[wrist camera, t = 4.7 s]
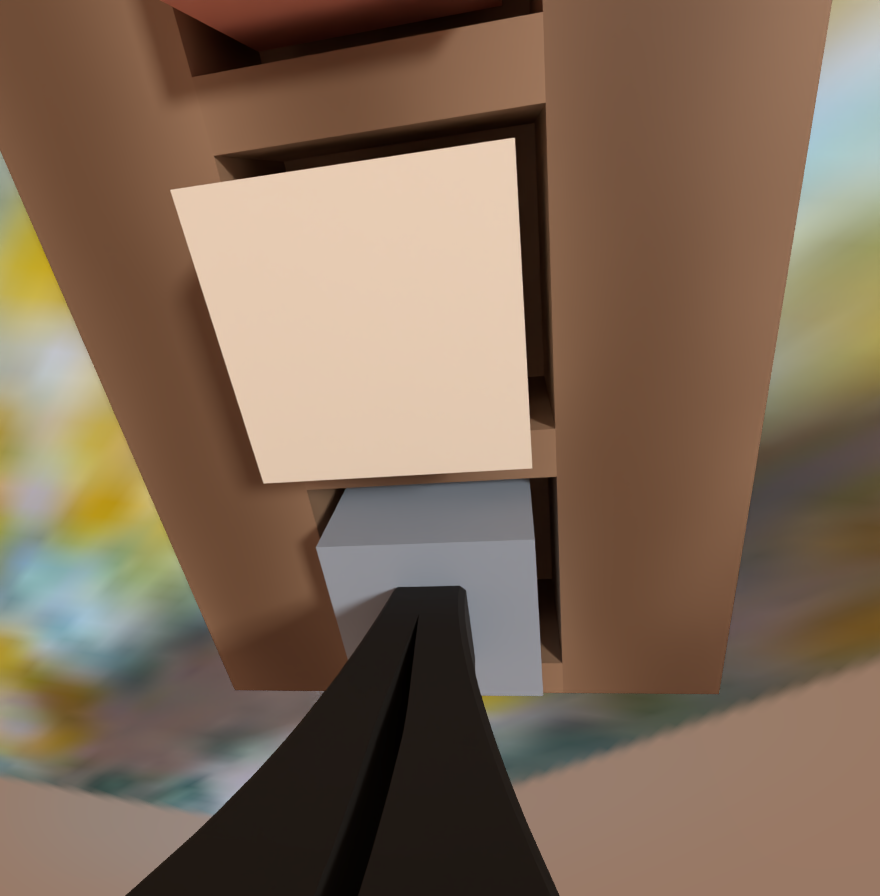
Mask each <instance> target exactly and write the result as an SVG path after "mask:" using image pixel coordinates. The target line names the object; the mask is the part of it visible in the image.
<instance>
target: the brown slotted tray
mask: <svg viewBox="0 0 880 896" xmlns="http://www.w3.org/2000/svg"><path fill="white" fill-rule="evenodd" d="M831 4H832V0H502V6H497V7H491V8H486V9H481V10H476V11H470V12H465V13H460V14H455V15H449V16H444V17H439V18H434V19H428V20H423V21H418V22H413V23H407V24H402V25H397V26H392V27H386V28H381V29H376V30H371V31H365V32H360V33H355V34H350V35H344V36H339V37H334V38H329V39H323V40H318V41H313V42H308V43H302V44H297V45H292V46H287V47H281V48H276V49H271V50H265V51H260V52H258V51H256V50H254V49H252V48H250V47H248V46H246V45H244V44H242V43H241V42H239V41H237V40H235V39H233V38H231V37H229V36H227V35H225V34H223V33H221V32H220V31H218V30H216V29H214V28H212V27H210V26H208V25H206V24H204V23H202V22H200V21H199V20H197V19H195V18H193V17H191V16H189V15H187V14H185V13H183V12H181V11H180V10H178V9H176V8H174V7H172V6H170V5H168V4H166V3H164V2H162V1H160V0H0V151H1V153H2V156H3V158H4V160H5V162H6V165H7V167H8V169H9V172H10V174H11V176H12V179H13V181H14V183H15V185H16V188H17V190H18V192H19V195H20V197H21V199H22V202H23V204H24V206H25V208H26V211H27V213H28V215H29V218H30V220H31V222H32V225H33V227H34V229H35V231H36V234H37V236H38V238H39V241H40V243H41V245H42V248H43V250H44V252H45V254H46V257H47V259H48V261H49V264H50V266H51V268H52V271H53V273H54V275H55V277H56V280H57V282H58V284H59V287H60V289H61V291H62V294H63V296H64V298H65V300H66V303H67V305H68V307H69V310H70V312H71V314H72V317H73V319H74V321H75V323H76V326H77V328H78V330H79V333H80V335H81V337H82V340H83V342H84V344H85V346H86V349H87V351H88V353H89V356H90V358H91V360H92V363H93V365H94V367H95V369H96V372H97V374H98V376H99V379H100V381H101V383H102V386H103V388H104V390H105V392H106V395H107V397H108V399H109V402H110V404H111V406H112V409H113V411H114V413H115V415H116V418H117V420H118V422H119V425H120V427H121V429H122V432H123V434H124V436H125V438H126V441H127V443H128V445H129V448H130V450H131V452H132V455H133V457H134V459H135V461H136V464H137V466H138V468H139V471H140V473H141V475H142V478H143V480H144V482H145V484H146V487H147V489H148V491H149V494H150V496H151V498H152V501H153V503H154V505H155V507H156V510H157V512H158V514H159V517H160V519H161V521H162V524H163V526H164V528H165V530H166V533H167V535H168V537H169V540H170V542H171V544H172V547H173V549H174V551H175V553H176V556H177V558H178V560H179V563H180V565H181V567H182V570H183V572H184V574H185V576H186V579H187V581H188V583H189V586H190V588H191V590H192V593H193V595H194V597H195V600H196V602H197V604H198V606H199V609H200V611H201V613H202V616H203V618H204V620H205V623H206V625H207V627H208V629H209V632H210V634H211V636H212V639H213V641H214V643H215V646H216V648H217V650H218V652H219V655H220V657H221V659H222V662H223V664H224V666H225V669H226V671H227V673H228V675H229V678H230V680H231V682H232V685H233V687H234V689H235V690H277V691H325V690H326V689H327V688H328V687H329V685H330V684H331V683H332V681H333V680H334V679H335V677H336V676H337V675H338V673H339V672H340V670H341V669H342V668H343V666H344V665H345V663H346V662H347V661H348V659H347V655H346V651H345V648H344V644H343V641H342V637H341V634H340V630H339V627H338V623H337V620H336V616H335V613H334V609H333V606H332V602H331V599H330V595H329V592H328V588H327V585H326V581H325V578H324V574H323V571H322V567H321V564H320V560H319V557H318V553H317V550H316V546H317V544H318V542H319V540H320V538H321V536H322V534H323V532H324V530H325V528H326V526H327V525H328V523H329V521H330V519H331V517H332V515H333V513H334V511H335V509H336V507H337V505H338V503H339V501H340V499H341V497H342V495H343V493H344V491H345V489H346V488H354V487H372V486H391V485H410V484H428V483H447V482H466V481H485V480H503V479H522V478H529V480H530V491H531V503H532V514H533V525H534V537H535V553H536V572H537V590H538V608H539V627H540V645H541V663H542V682H543V693H650V694H719V690H720V684H721V678H722V672H723V666H724V659H725V653H726V647H727V641H728V635H729V629H730V623H731V617H732V610H733V604H734V598H735V592H736V586H737V580H738V574H739V568H740V561H741V555H742V549H743V543H744V537H745V531H746V525H747V519H748V512H749V506H750V500H751V494H752V488H753V482H754V476H755V470H756V463H757V457H758V451H759V445H760V439H761V433H762V427H763V421H764V414H765V408H766V402H767V396H768V390H769V384H770V378H771V372H772V365H773V359H774V353H775V347H776V341H777V335H778V329H779V323H780V316H781V310H782V304H783V298H784V292H785V286H786V280H787V274H788V267H789V261H790V255H791V249H792V243H793V237H794V231H795V225H796V218H797V212H798V206H799V200H800V194H801V188H802V182H803V176H804V169H805V163H806V157H807V151H808V145H809V139H810V133H811V127H812V120H813V114H814V108H815V102H816V96H817V90H818V84H819V78H820V71H821V65H822V59H823V53H824V47H825V41H826V35H827V29H828V22H829V16H830V10H831ZM509 138H515V150H516V169H517V188H518V207H519V226H520V245H521V263H522V282H523V301H524V320H525V339H526V358H527V376H528V395H529V414H530V433H531V452H532V468H531V469H513V470H496V471H478V472H460V473H442V474H424V475H407V476H389V477H371V478H353V479H335V480H317V481H300V482H282V483H263V480H262V477H261V474H260V471H259V468H258V465H257V461H256V458H255V455H254V452H253V449H252V446H251V443H250V439H249V436H248V433H247V430H246V427H245V424H244V421H243V417H242V414H241V411H240V408H239V405H238V402H237V399H236V395H235V392H234V389H233V386H232V383H231V380H230V377H229V373H228V370H227V367H226V364H225V361H224V358H223V355H222V351H221V348H220V345H219V342H218V339H217V336H216V333H215V329H214V326H213V323H212V320H211V317H210V314H209V311H208V307H207V304H206V301H205V298H204V295H203V292H202V289H201V285H200V282H199V279H198V276H197V273H196V270H195V267H194V263H193V260H192V257H191V254H190V251H189V248H188V245H187V241H186V238H185V235H184V232H183V229H182V226H181V223H180V219H179V216H178V213H177V210H176V207H175V204H174V201H173V197H172V194H171V191H170V190H173V189H179V188H186V187H192V186H199V185H205V184H212V183H219V182H225V181H232V180H238V179H245V178H252V177H258V176H265V175H271V174H278V173H285V172H291V171H298V170H304V169H311V168H318V167H324V166H331V165H337V164H344V163H351V162H357V161H364V160H370V159H377V158H384V157H390V156H397V155H403V154H410V153H417V152H423V151H430V150H436V149H443V148H450V147H456V146H463V145H469V144H476V143H483V142H489V141H496V140H502V139H509Z"/></svg>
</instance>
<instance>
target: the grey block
mask: <svg viewBox="0 0 880 896" xmlns="http://www.w3.org/2000/svg"><path fill="white" fill-rule="evenodd" d="M316 550H317V553H318V557H319V560H320V564H321V567H322V571H323V574H324V578H325V581H326V585H327V588H328V592H329V595H330V599H331V602H332V606H333V609H334V613H335V616H336V620H337V623H338V627H339V630H340V634H341V637H342V641H343V644H344V648H345V651H346V655H347V659H349V658H350V656H351V655H352V654H353V652H354V651H355V649H356V648H357V647H358V645H359V644H360V642H361V641H362V639H363V638H364V636H365V635H366V633H367V632H368V630H369V629H370V627H371V626H372V624H373V623H374V621H375V620H376V618H377V617H378V615H379V613H380V612H381V610H382V609H383V607H384V606H385V604H386V602H387V601H388V599H389V597H390V596H391V594H392V593H393V591H394V590H395V589H396V588H397V587H421V586H461V587H462V588H464V589H465V590H466V593H467V601H468V609H469V616H470V624H471V631H472V639H473V646H474V654H475V674H476V678H477V682H478V686H479V689H480V693H481V695H489V696H543V682H542V663H541V645H540V627H539V608H538V590H537V572H536V553H535V537H534V525H533V514H532V503H531V491H530V480H529V478H522V479H503V480H485V481H466V482H447V483H428V484H410V485H391V486H372V487H354V488H346V489H345V491H344V493H343V495H342V497H341V499H340V501H339V503H338V505H337V507H336V509H335V511H334V513H333V515H332V517H331V519H330V521H329V523H328V525H327V526H326V528H325V530H324V532H323V534H322V536H321V538H320V540H319V542H318V544H317V546H316Z"/></svg>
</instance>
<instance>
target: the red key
mask: <svg viewBox="0 0 880 896" xmlns="http://www.w3.org/2000/svg"><path fill="white" fill-rule="evenodd" d="M160 1H162V2H164V3H166V4H168V5H170V6H172V7H174V8H176V9H178V10H180V11H181V12H183V13H185V14H187V15H189V16H191V17H193V18H195V19H197V20H199V21H200V22H202V23H204V24H206V25H208V26H210V27H212V28H214V29H216V30H218V31H220V32H221V33H223V34H225V35H227V36H229V37H231V38H233V39H235V40H237V41H239V42H241V43H242V44H244V45H246V46H248V47H250V48H252V49H254V50H256V51H258V52H260V51H265V50H271V49H276V48H281V47H287V46H292V45H297V44H302V43H308V42H313V41H318V40H323V39H329V38H334V37H339V36H344V35H350V34H355V33H360V32H365V31H371V30H376V29H381V28H386V27H392V26H397V25H402V24H407V23H413V22H418V21H423V20H428V19H434V18H439V17H444V16H449V15H455V14H460V13H465V12H470V11H476V10H481V9H486V8H491V7H497V6H502V0H160Z"/></svg>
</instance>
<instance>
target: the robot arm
mask: <svg viewBox="0 0 880 896" xmlns="http://www.w3.org/2000/svg"><path fill="white" fill-rule="evenodd" d="M126 896H559V893H558V891H557V889H556V887H555V884H554V882H553V881H552V878H551V876H550V873H549V871H548V869H547V867H546V865H545V862H544V860H543V858H542V856H541V853H540V851H539V849H538V847H537V844H536V842H535V840H534V838H533V835H532V833H531V831H530V829H529V826H528V824H527V822H526V819H525V817H524V814H523V812H522V809H521V807H520V804H519V802H518V799H517V797H516V794H515V792H514V789H513V787H512V784H511V782H510V779H509V776H508V774H507V771H506V768H505V766H504V763H503V760H502V758H501V755H500V752H499V749H498V747H497V744H496V741H495V738H494V735H493V732H492V729H491V726H490V723H489V719H488V716H487V713H486V710H485V707H484V703H483V700H482V696H481V693H480V689H479V686H478V682H477V678H476V674H475V654H474V646H473V639H472V631H471V624H470V616H469V609H468V601H467V593H466V590H465V589H464V588H462V587H461V586H421V587H397V588H396V589H395V590H394V591H393V593H392V594H391V596H390V597H389V599H388V601H387V602H386V604H385V606H384V607H383V609H382V610H381V612H380V613H379V615H378V617H377V618H376V620H375V621H374V623H373V624H372V626H371V627H370V629H369V630H368V632H367V633H366V635H365V636H364V638H363V639H362V641H361V642H360V644H359V645H358V647H357V648H356V649H355V651H354V652H353V654H352V655H351V656H350V658H349V659H348V661H347V662H346V663H345V665H344V666H343V668H342V669H341V670H340V672H339V673H338V675H337V676H336V677H335V679H334V680H333V681H332V683H331V684H330V685H329V687H328V688H327V689H326V690H325V692H324V693H323V694H322V695H321V697H320V698H319V699H318V701H317V702H316V703H315V704H314V706H313V707H312V708H311V709H310V711H309V712H308V713H307V714H306V716H305V717H304V718H303V719H302V721H301V722H300V723H299V724H298V725H297V727H296V728H295V729H294V730H293V731H292V733H291V734H290V735H289V736H288V737H287V738H286V740H285V741H284V742H283V743H282V744H281V745H280V746H279V748H278V749H277V750H276V751H275V752H274V753H273V754H272V755H271V756H270V758H269V759H268V760H267V761H266V762H265V763H264V764H263V765H262V766H261V767H260V769H259V770H258V771H257V772H256V773H255V774H254V775H253V776H252V777H251V778H250V779H249V780H248V781H247V782H246V783H245V784H244V785H243V786H242V787H241V788H240V789H239V790H238V791H237V792H236V793H235V794H234V795H233V796H232V797H231V798H230V799H229V800H228V801H227V802H226V803H225V805H224V806H223V807H222V808H221V809H220V810H219V811H218V812H217V813H216V814H215V815H213V816H212V817H211V818H210V819H209V820H208V821H207V822H206V823H205V824H204V825H203V826H202V827H201V828H200V829H199V830H198V831H197V832H196V833H195V834H194V835H193V836H192V837H191V838H189V839H188V840H187V841H186V842H185V843H184V844H183V845H182V846H181V847H179V848H178V849H177V850H176V851H175V852H174V853H173V854H171V855H170V857H168V858H167V859H166V860H165V861H164V862H163V863H161V864H160V865H159V866H158V867H157V868H156V869H155V870H154V871H153V872H151V873H150V874H149V875H148V876H147V877H146V878H145V879H143V880H142V881H141V882H140V883H139V884H138V885H137V886H136V887H135V888H134V889H132V890H131V891H130V892H129V893H128V894H127V895H126Z"/></svg>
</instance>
